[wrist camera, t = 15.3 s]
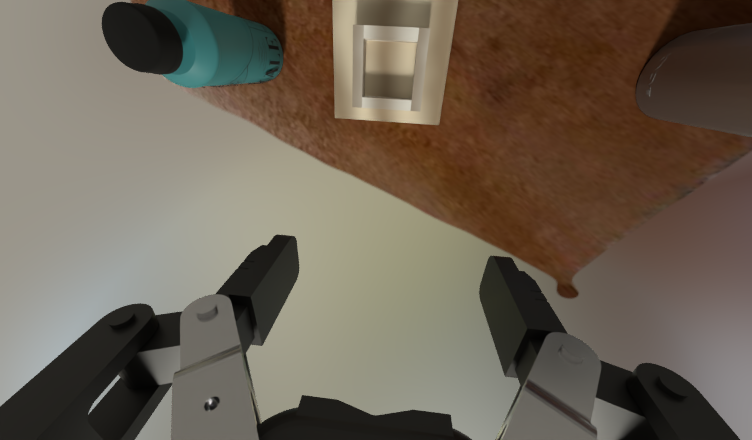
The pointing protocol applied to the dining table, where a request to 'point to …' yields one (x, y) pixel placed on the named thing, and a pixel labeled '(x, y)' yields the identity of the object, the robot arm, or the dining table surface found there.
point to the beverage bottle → (191, 43)
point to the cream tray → (391, 58)
